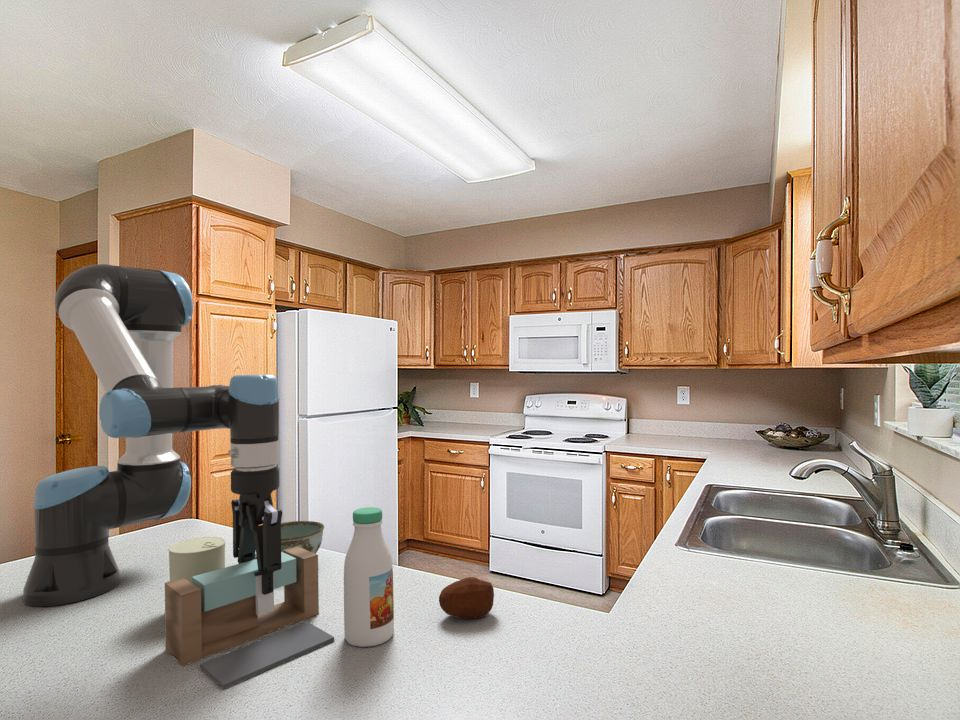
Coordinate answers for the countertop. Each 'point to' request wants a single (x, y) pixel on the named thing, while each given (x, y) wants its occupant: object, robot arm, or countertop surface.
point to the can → (196, 557)
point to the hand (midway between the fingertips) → (256, 606)
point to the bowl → (301, 535)
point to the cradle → (234, 613)
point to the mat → (265, 654)
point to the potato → (467, 598)
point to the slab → (239, 582)
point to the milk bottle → (368, 582)
